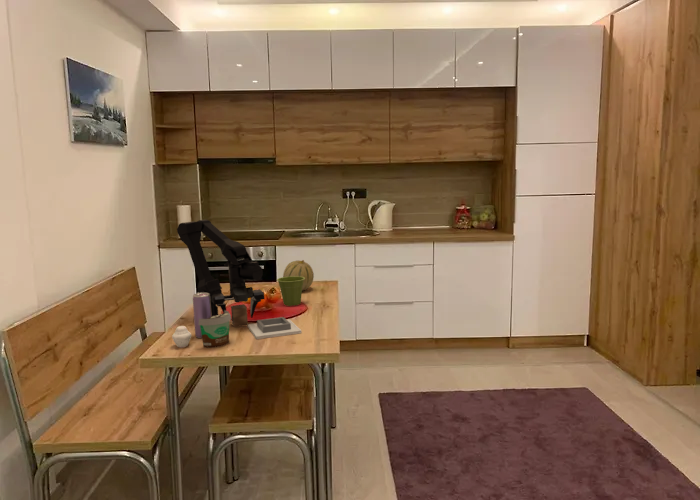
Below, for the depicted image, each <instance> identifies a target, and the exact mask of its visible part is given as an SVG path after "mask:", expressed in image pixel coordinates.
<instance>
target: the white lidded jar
mask: <svg viewBox="0 0 700 500" xmlns="http://www.w3.org/2000/svg"><path fill="white" fill-rule="evenodd" d="M191 337H192V333H191V332H190V331H189V330H188V328H187V327H186V326H185V325H179V326H177V327H176V328H175V331H174V333H173V334H172V335H171V338H172V340H173V342H174V344H175V345H176V347H178V348H186V347H188V345H189V343H190V342H191Z"/></svg>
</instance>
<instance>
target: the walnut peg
mask: <svg viewBox="0 0 700 500" xmlns="http://www.w3.org/2000/svg"><path fill="white" fill-rule="evenodd" d="M230 311H231V312H230V315H231V324H232V326H233V327H234V328H237V326H239V327H244V326H245V327H246V325H247V326H248V321H249V320H248V309H247V306H246V304H245V303H243V304H234V305H233V304H232V305H231V306H230Z"/></svg>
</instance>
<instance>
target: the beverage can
mask: <svg viewBox="0 0 700 500" xmlns="http://www.w3.org/2000/svg"><path fill="white" fill-rule="evenodd" d="M192 308H193V320H194V323H193V324H194V333H195V334H194V335H195V337H196V338H197V339H202V334H201V328H200V325H198V324H199V318H200V319H207V318H209V317H211V316H212V312H211V297H210V294H209V293H198V292H197V293H194V294H193V295H192Z"/></svg>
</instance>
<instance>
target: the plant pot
mask: <svg viewBox="0 0 700 500" xmlns="http://www.w3.org/2000/svg"><path fill="white" fill-rule="evenodd" d="M304 279H305V278H304V277H299V276H290V277H283V276H282V277H278V278H277V279H276V281H277V282H278V286H279V288H280V293H281V297H282V302H283V305H284V306H285V305H286V307H292V306H295V305H296V306H298V305H301V303H302V302H301V301H302V293H303V291H302V286H303V281H304ZM296 306H295V307H296Z"/></svg>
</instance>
